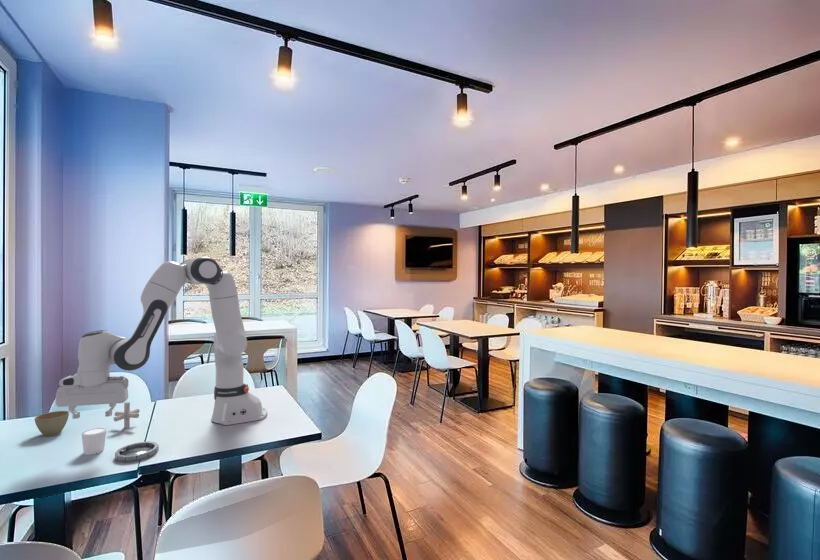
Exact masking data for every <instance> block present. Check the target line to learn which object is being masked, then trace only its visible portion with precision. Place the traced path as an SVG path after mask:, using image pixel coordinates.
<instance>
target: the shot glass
mask: <svg viewBox="0 0 820 560" xmlns="http://www.w3.org/2000/svg"><path fill="white" fill-rule="evenodd" d="M106 434H107V428H105V427H98V428H97V427H96V428H91V429H88V430H85V431H83V432H81V440H82V441H81V442H82V450H83V455H86V456H91V454H92V455H95V454H96V453H97V454H99V453H102V452H104V450H105V444H106V438H107V437H106Z"/></svg>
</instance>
